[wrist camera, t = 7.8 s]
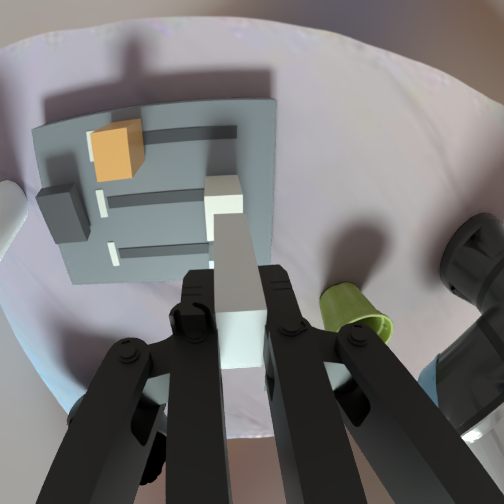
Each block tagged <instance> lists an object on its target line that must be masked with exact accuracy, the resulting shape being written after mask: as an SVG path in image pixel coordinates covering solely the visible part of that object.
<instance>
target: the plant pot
mask: <svg viewBox="0 0 504 504" xmlns="http://www.w3.org/2000/svg"><path fill="white" fill-rule="evenodd" d="M320 310H321V314H322V319H323V323H324V327H325V331H332V332H338V331H339V329H340V328H341V327H342V326H344V325H345V324H348V323H353V322H355V323H362V324H364V325H367V326H369V327H370V328H371V329H373V330H374V331H375V332H376V333H377V335H378V336H379V337H380V338H381V339H382V340H383V342H384V343H385V344H387V342H388V341H389V339H390V338H391V336H392V333H393V328H394V326H393V322H392V320H391V319H390V318H389V317H388V316H387V315H385V314H382V313H381V312H380V311H378V310H376V309H375V307H374V306H373V305H372V304H371V303H370V302H369V301H368V299H367V298H366V297H365V296H364V295H363V294H362V292H361V291H360V290H359V289H358V288H357V287H356V286H355V285H354V284H352V283H348V282H343V283H341V284H339V285H335V286H331V287H330V288H329V289H327V290H326V291H325V292H324V293H323V295H322V297H321V299H320Z"/></svg>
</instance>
